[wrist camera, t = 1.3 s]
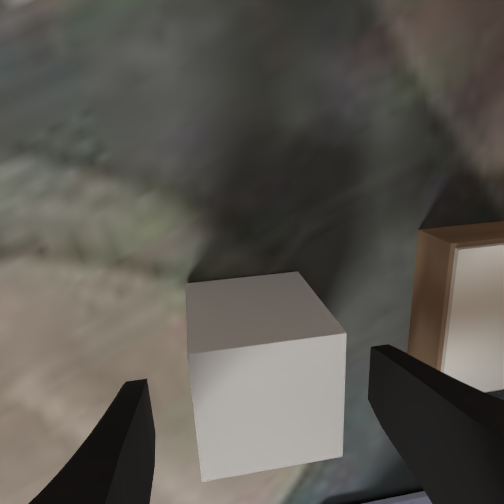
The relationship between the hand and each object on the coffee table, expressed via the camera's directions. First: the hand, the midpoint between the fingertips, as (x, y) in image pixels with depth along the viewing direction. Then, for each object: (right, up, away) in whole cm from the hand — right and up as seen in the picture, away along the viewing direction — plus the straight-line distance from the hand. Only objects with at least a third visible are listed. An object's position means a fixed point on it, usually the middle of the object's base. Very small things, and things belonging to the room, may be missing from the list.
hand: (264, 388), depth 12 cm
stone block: (-1, +1, +4) cm, 4 cm away
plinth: (+10, +2, +6) cm, 12 cm away
